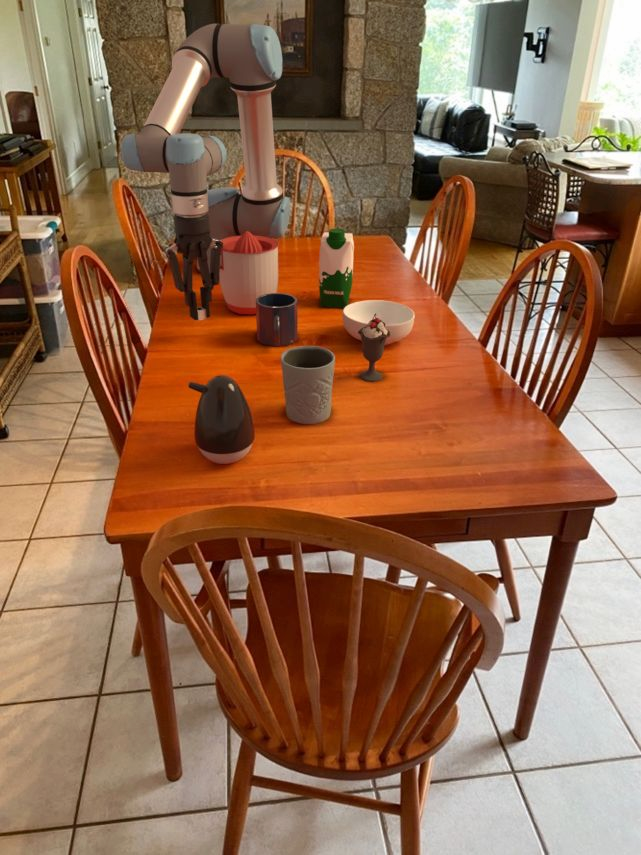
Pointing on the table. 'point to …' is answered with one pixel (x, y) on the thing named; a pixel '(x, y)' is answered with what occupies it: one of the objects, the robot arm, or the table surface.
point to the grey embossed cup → (308, 383)
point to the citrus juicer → (248, 270)
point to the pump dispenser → (223, 421)
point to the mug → (276, 319)
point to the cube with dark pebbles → (201, 313)
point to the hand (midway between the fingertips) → (200, 316)
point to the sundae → (373, 346)
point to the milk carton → (336, 268)
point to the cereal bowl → (389, 312)
